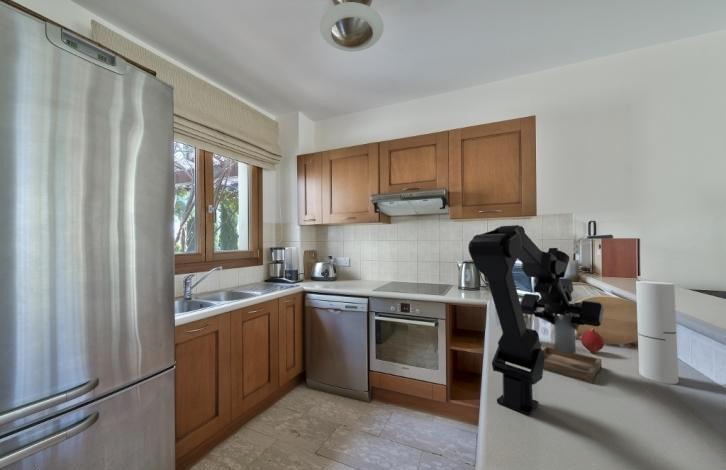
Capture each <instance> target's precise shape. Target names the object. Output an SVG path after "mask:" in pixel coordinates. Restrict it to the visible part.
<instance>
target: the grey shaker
mask: <svg viewBox="0 0 726 470" xmlns="http://www.w3.org/2000/svg"><path fill="white" fill-rule="evenodd" d="M572 316H573V315H572V313H570V315H567V314H566V315H559V314H554V325H553V326H554V348H555V349H556V350H558V351H561V352H565V353H577V351H576V350H577V349H576V329H575V328H574V327H573V325H572V324H571V320H572Z"/></svg>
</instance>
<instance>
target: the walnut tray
mask: <svg viewBox="0 0 726 470" xmlns="http://www.w3.org/2000/svg"><path fill="white" fill-rule="evenodd" d="M541 349H542V350H543V352H544V366H543V371H546V372H550V373H554V374H557V375H560V376H564V377H568V378H571V379H575V380H577V381H582V382H584V383H588V384H590V385H591V384H593V382H594V381H595V379H596V378H597V376H598V375H599V373H600V371H602V359H601V358H598V357H593V356H589V355H585V354H581V353H577V352H575V353H565V352H561V351H558V350H556V349H555V347H551V346H547V345H544V346H543V347H541Z"/></svg>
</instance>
